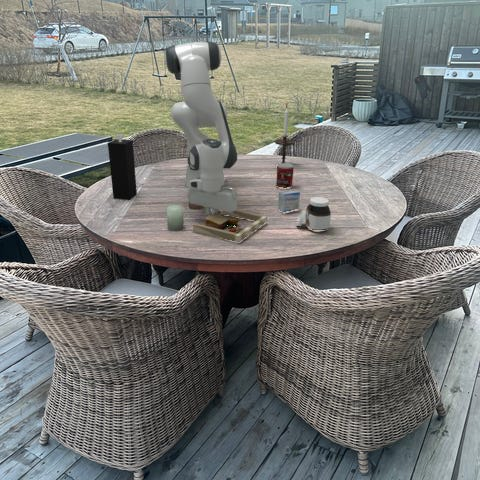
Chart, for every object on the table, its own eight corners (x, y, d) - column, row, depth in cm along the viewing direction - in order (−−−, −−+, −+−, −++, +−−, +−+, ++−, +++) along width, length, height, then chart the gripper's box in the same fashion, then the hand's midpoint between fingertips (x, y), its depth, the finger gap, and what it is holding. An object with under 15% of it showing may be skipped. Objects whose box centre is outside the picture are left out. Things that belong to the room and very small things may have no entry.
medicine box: (282, 214, 183) (284, 194, 180) (277, 211, 187) (278, 191, 183) (298, 211, 187) (300, 192, 183) (292, 208, 190) (294, 188, 186)
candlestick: (287, 170, 244) (291, 104, 229) (270, 167, 249) (273, 102, 234) (296, 166, 252) (301, 102, 237) (279, 163, 257) (282, 100, 243)
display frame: (224, 213, 182) (224, 206, 181) (266, 223, 174) (267, 216, 172) (193, 232, 165) (192, 224, 164) (238, 243, 156) (239, 236, 155)
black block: (129, 200, 195) (124, 136, 183) (113, 199, 196) (106, 134, 184) (137, 194, 202) (132, 132, 190) (121, 193, 203) (115, 131, 191)
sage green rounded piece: (174, 223, 172) (173, 203, 169) (186, 226, 169) (186, 206, 166) (164, 228, 167) (163, 208, 164) (177, 232, 165) (176, 211, 161)
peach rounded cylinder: (194, 204, 192) (193, 188, 189) (205, 206, 190) (205, 191, 187) (185, 208, 187) (185, 192, 185) (197, 211, 185) (197, 195, 182)
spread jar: (331, 233, 167) (335, 203, 162) (304, 236, 164) (306, 206, 159) (317, 221, 177) (320, 193, 172) (291, 223, 174) (293, 195, 169)
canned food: (274, 188, 214) (275, 166, 210) (279, 184, 221) (280, 162, 216) (289, 190, 212) (290, 168, 207) (293, 186, 218) (295, 164, 214)
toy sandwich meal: (227, 240, 159) (227, 227, 157) (198, 230, 166) (198, 218, 164) (247, 229, 168) (247, 217, 166) (219, 220, 176) (219, 209, 174)
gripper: (240, 186, 164) (239, 221, 170) (194, 177, 173) (195, 210, 179) (231, 191, 159) (231, 226, 165) (185, 181, 168) (186, 215, 174)
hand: (212, 218), depth 172 cm, fingers closed
